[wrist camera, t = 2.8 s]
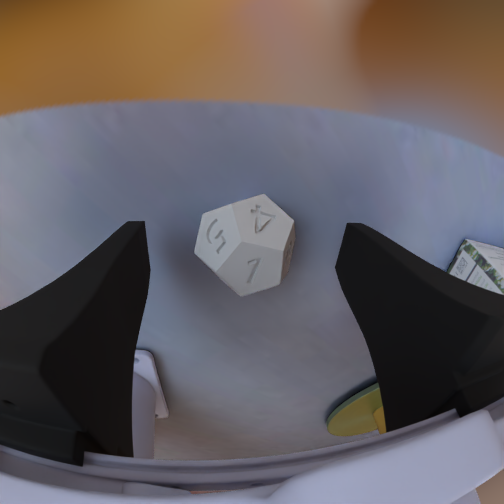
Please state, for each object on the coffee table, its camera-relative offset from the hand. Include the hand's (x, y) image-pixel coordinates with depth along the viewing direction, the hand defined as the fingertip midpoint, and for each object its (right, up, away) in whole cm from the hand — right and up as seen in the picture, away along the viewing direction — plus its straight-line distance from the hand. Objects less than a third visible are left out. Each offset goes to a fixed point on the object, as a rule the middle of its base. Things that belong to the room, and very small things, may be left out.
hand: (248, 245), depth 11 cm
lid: (+12, -14, +13) cm, 22 cm away
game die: (0, +1, +1) cm, 2 cm away
